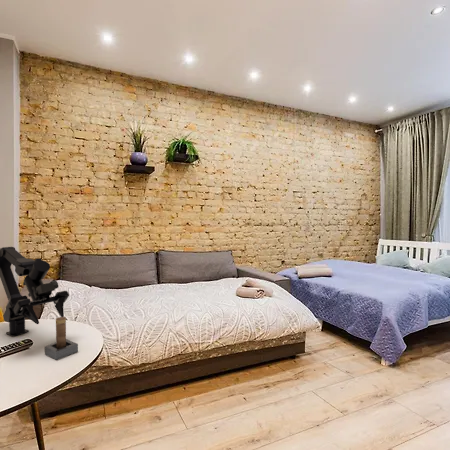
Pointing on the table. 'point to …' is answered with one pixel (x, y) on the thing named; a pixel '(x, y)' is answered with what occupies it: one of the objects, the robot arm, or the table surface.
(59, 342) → the pin
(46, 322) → the table surface
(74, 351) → the socket block
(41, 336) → the table surface
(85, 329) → the table surface
